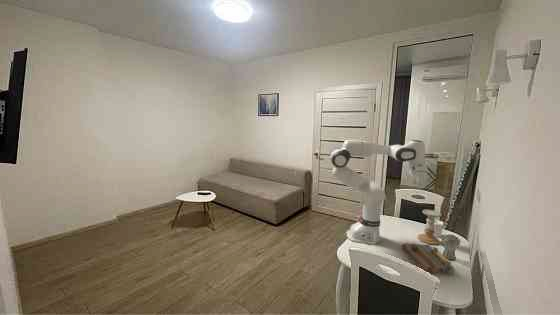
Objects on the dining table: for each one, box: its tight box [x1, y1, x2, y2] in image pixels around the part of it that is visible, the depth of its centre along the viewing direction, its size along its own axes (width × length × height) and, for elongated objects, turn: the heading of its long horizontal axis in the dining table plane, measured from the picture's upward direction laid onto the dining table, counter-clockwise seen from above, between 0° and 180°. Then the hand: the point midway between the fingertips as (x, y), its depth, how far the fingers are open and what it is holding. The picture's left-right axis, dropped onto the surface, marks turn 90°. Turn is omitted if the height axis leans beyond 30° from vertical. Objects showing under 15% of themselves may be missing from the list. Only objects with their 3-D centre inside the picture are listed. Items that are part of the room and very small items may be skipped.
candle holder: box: [417, 209, 442, 246], centre depth 144 cm, size 12×12×20 cm
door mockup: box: [401, 243, 455, 276], centre depth 123 cm, size 16×22×6 cm
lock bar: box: [431, 246, 452, 267], centre depth 118 cm, size 13×3×3 cm, turn 175°
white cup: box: [433, 219, 444, 238], centre depth 152 cm, size 8×8×10 cm
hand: (416, 185), depth 139 cm, fingers open, 8 cm apart
